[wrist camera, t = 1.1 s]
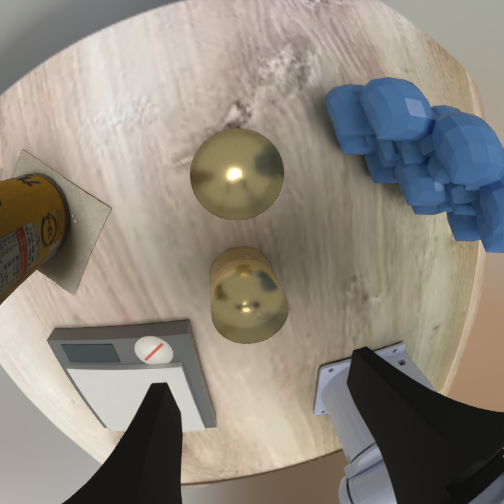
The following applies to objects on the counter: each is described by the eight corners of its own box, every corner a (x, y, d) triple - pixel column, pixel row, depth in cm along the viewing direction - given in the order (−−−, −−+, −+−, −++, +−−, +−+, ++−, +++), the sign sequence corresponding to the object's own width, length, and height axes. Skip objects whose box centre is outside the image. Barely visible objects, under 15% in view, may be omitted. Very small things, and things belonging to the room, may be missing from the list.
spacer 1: (261, 131, 15) (280, 125, 11) (266, 196, 17) (286, 215, 12) (192, 137, 15) (185, 134, 10) (199, 204, 16) (196, 225, 12)
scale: (188, 318, 19) (187, 338, 17) (215, 414, 23) (217, 431, 21) (53, 327, 18) (43, 343, 16) (106, 416, 22) (103, 431, 20)
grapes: (441, 163, 17) (566, 201, 6) (401, 230, 19) (523, 308, 8) (339, 56, 14) (483, -6, 3) (283, 131, 15) (431, 116, 4)
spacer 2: (268, 242, 18) (288, 274, 13) (271, 296, 19) (288, 337, 15) (206, 250, 17) (206, 285, 13) (214, 304, 19) (217, 348, 15)
